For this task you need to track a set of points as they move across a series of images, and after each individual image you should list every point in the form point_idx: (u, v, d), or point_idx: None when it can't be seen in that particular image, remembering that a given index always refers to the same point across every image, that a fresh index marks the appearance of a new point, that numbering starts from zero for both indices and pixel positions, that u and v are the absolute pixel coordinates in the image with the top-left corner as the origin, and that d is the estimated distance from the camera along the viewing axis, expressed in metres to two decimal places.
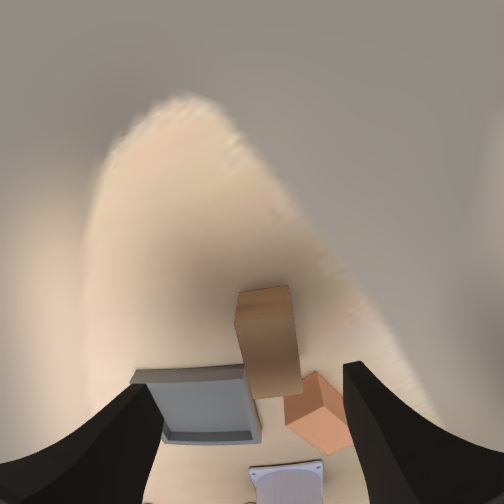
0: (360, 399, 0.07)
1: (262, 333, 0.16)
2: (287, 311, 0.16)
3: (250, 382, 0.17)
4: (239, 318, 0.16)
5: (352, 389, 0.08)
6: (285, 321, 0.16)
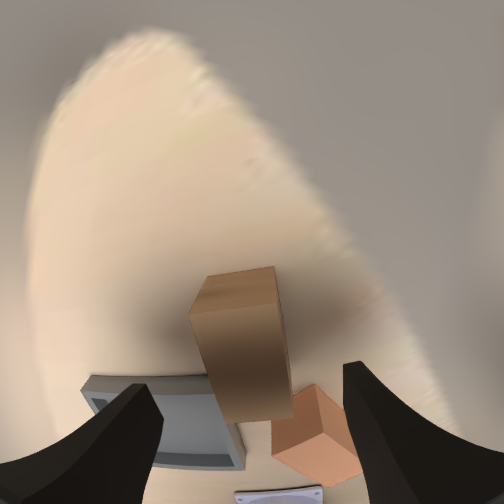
0: (360, 399, 0.07)
1: (231, 331, 0.11)
2: (269, 299, 0.11)
3: (219, 401, 0.12)
4: (197, 308, 0.11)
5: (352, 389, 0.08)
6: (265, 313, 0.10)
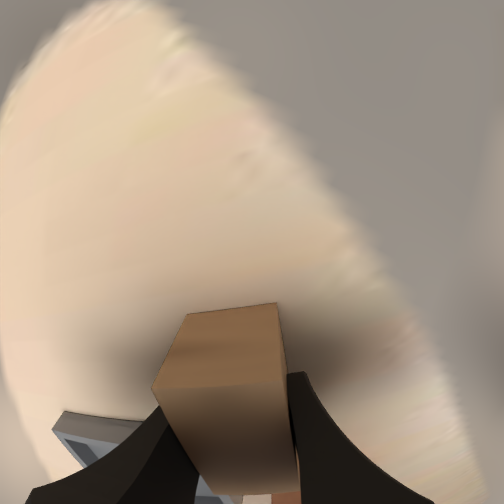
0: (291, 412, 0.07)
1: (214, 412, 0.07)
2: (270, 371, 0.07)
3: (204, 477, 0.08)
4: (164, 379, 0.07)
5: (288, 400, 0.08)
6: (264, 393, 0.06)
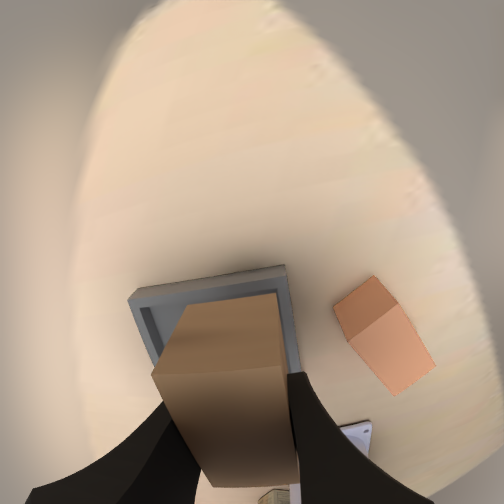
0: (291, 412, 0.07)
1: (214, 399, 0.07)
2: (269, 357, 0.07)
3: (203, 468, 0.08)
4: (164, 365, 0.07)
5: None
6: (263, 378, 0.06)
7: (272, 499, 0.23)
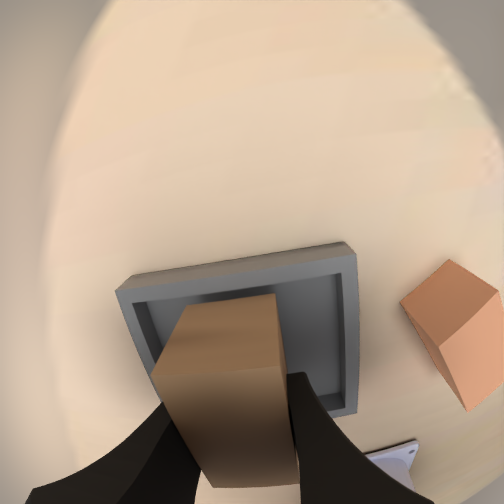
0: (291, 412, 0.07)
1: (213, 399, 0.07)
2: (268, 357, 0.07)
3: (203, 468, 0.08)
4: (164, 366, 0.07)
5: (288, 400, 0.08)
6: (262, 379, 0.06)
7: None
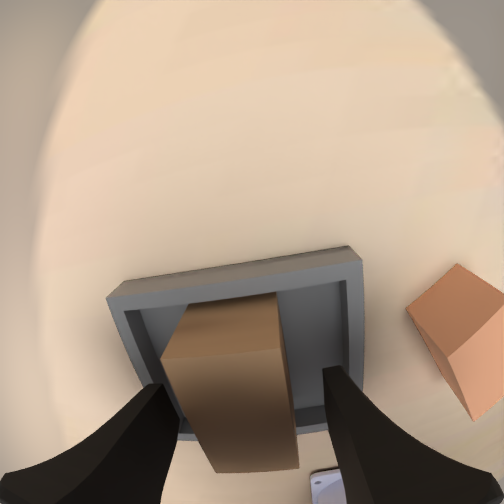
0: (335, 404, 0.07)
1: (218, 381, 0.07)
2: (269, 341, 0.07)
3: (207, 453, 0.09)
4: (173, 351, 0.08)
5: (329, 394, 0.08)
6: (264, 361, 0.07)
7: None
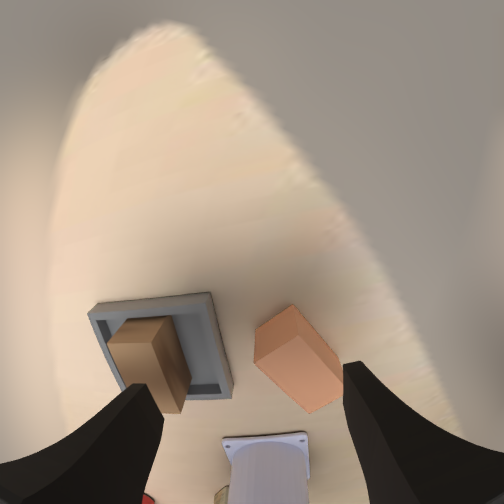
0: (360, 399, 0.07)
1: (130, 355, 0.16)
2: (149, 339, 0.16)
3: None
4: (112, 340, 0.16)
5: (352, 389, 0.08)
6: (146, 347, 0.16)
7: (224, 495, 0.26)
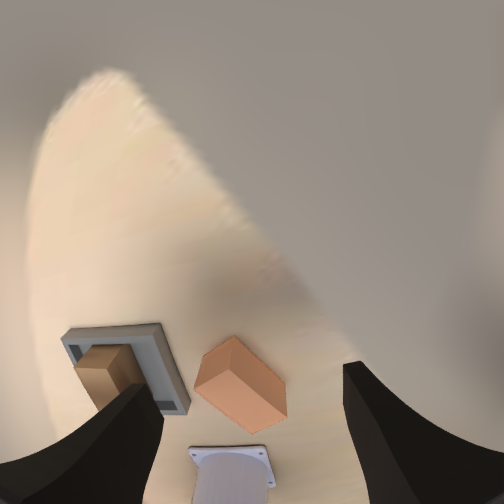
0: (360, 399, 0.07)
1: (92, 378, 0.17)
2: (105, 365, 0.17)
3: None
4: (78, 364, 0.18)
5: (352, 389, 0.08)
6: (103, 372, 0.17)
7: None
